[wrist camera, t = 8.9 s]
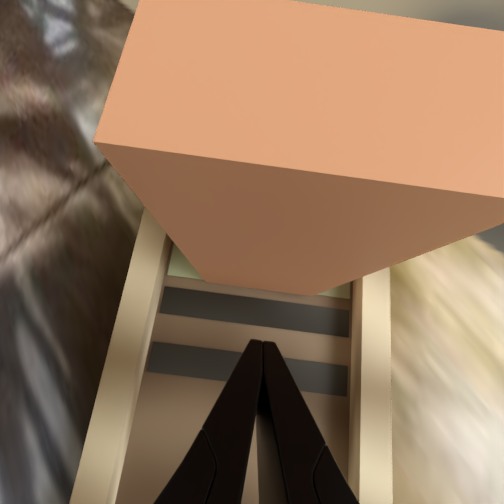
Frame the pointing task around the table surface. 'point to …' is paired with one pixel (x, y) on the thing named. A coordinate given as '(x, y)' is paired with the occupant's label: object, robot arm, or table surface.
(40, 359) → the table surface
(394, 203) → the tall block
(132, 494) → the open-ended rail tray
